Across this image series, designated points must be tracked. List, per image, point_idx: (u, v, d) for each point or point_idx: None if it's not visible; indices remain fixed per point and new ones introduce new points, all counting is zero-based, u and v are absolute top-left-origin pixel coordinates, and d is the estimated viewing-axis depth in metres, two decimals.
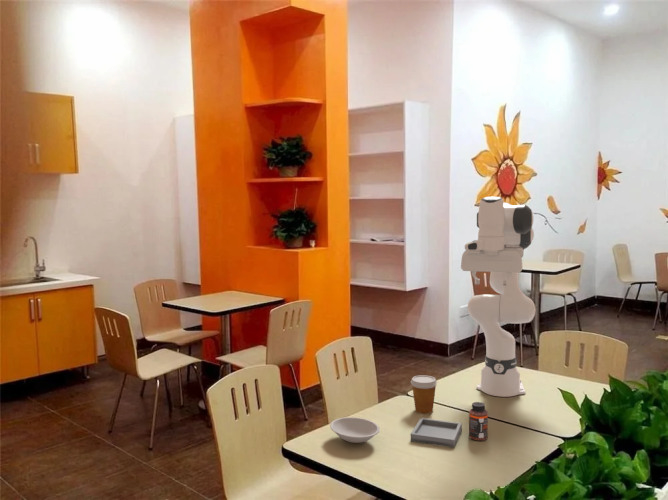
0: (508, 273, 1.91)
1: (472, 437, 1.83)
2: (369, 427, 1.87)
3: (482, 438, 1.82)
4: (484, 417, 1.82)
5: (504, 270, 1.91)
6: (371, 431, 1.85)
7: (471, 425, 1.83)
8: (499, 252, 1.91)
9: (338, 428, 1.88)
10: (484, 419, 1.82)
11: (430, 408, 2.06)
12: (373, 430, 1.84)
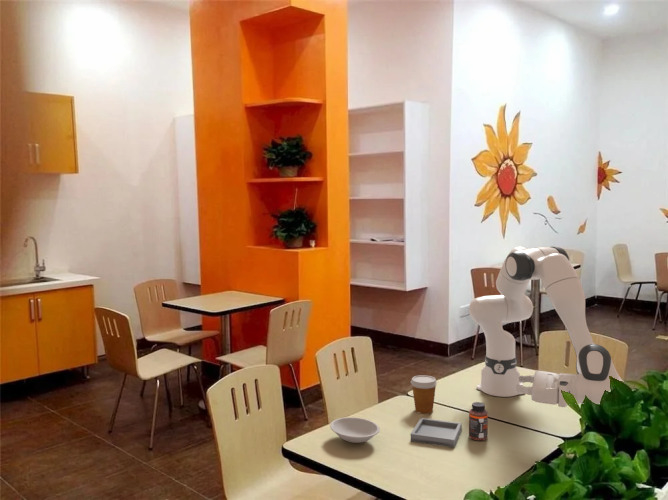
0: None
1: (472, 437, 1.83)
2: (369, 427, 1.87)
3: (482, 438, 1.82)
4: (484, 417, 1.82)
5: None
6: (371, 431, 1.85)
7: (471, 425, 1.83)
8: None
9: (338, 428, 1.88)
10: (483, 419, 1.82)
11: (430, 408, 2.06)
12: (373, 430, 1.84)
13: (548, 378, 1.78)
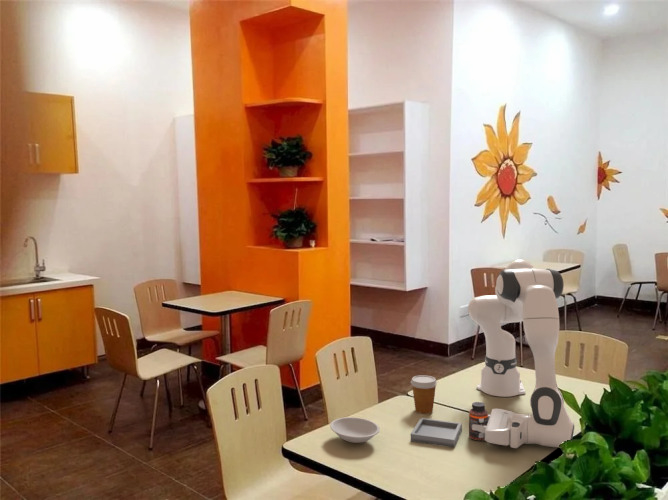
0: None
1: (472, 437, 1.83)
2: (369, 427, 1.87)
3: (482, 438, 1.82)
4: (484, 417, 1.82)
5: None
6: (371, 431, 1.85)
7: (471, 425, 1.83)
8: None
9: (338, 428, 1.88)
10: (484, 419, 1.82)
11: (430, 408, 2.06)
12: (373, 430, 1.84)
13: (503, 417, 1.85)
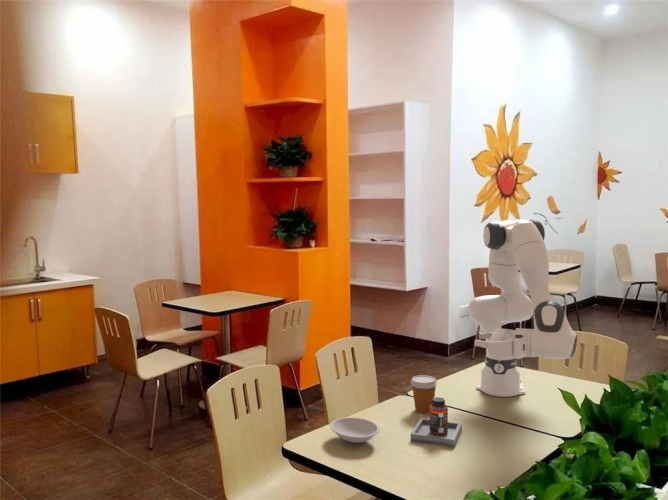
0: None
1: (432, 432, 1.86)
2: (369, 427, 1.87)
3: (442, 433, 1.85)
4: (444, 412, 1.84)
5: None
6: (371, 431, 1.85)
7: (431, 420, 1.86)
8: None
9: (338, 428, 1.88)
10: (443, 414, 1.84)
11: None
12: (373, 430, 1.84)
13: (506, 334, 1.85)
